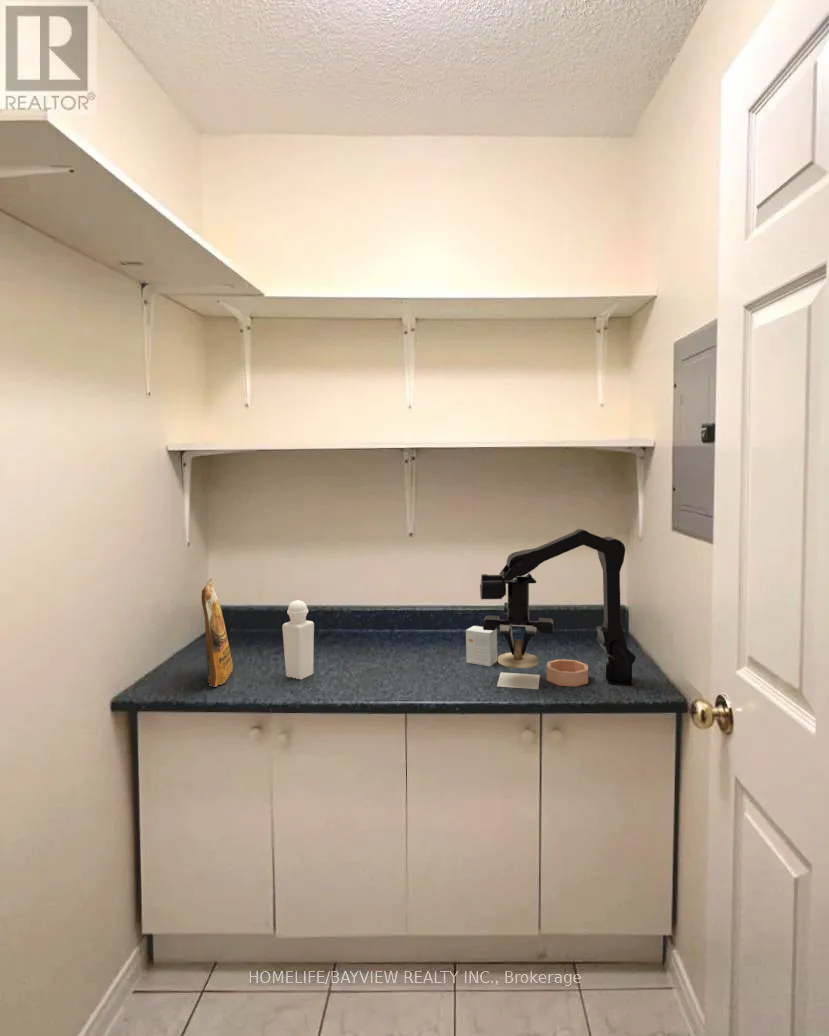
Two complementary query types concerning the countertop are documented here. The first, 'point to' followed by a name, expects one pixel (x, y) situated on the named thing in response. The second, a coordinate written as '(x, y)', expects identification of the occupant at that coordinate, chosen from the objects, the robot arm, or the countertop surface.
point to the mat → (518, 680)
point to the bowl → (567, 672)
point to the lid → (518, 657)
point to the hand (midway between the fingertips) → (518, 654)
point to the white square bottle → (298, 642)
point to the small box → (481, 646)
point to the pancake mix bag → (215, 638)
